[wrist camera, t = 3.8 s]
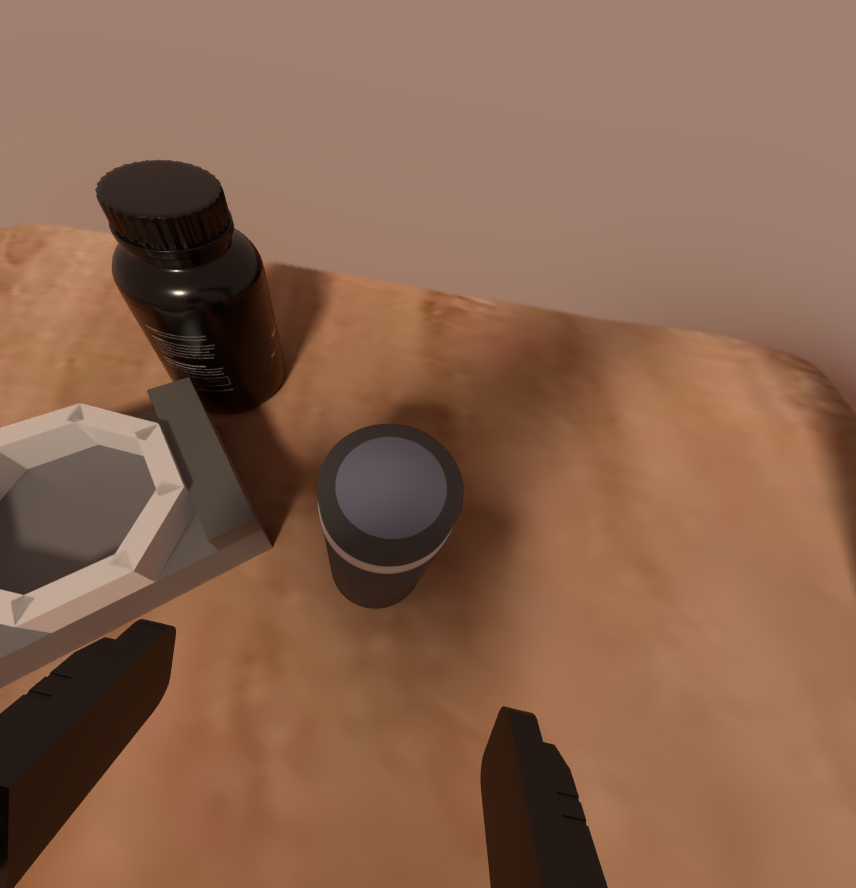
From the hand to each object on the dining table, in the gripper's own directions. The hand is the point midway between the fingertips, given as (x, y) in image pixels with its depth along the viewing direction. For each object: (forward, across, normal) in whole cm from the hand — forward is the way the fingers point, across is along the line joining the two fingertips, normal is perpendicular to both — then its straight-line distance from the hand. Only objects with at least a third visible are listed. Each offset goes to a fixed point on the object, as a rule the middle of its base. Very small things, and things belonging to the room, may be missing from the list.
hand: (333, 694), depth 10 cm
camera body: (+11, +13, +5) cm, 18 cm away
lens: (+12, 0, +3) cm, 13 cm away
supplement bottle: (+19, +13, -3) cm, 23 cm away
